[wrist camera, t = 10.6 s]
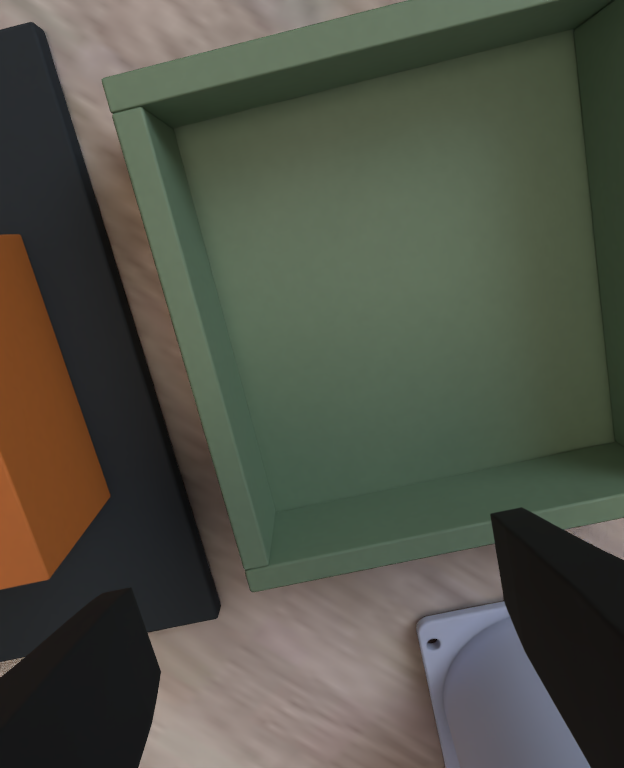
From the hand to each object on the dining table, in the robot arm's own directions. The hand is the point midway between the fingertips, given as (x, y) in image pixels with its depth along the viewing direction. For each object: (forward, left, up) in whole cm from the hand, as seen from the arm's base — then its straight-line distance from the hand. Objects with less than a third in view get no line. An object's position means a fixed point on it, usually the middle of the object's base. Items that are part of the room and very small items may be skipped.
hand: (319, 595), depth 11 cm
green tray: (+4, -4, -9) cm, 11 cm away
